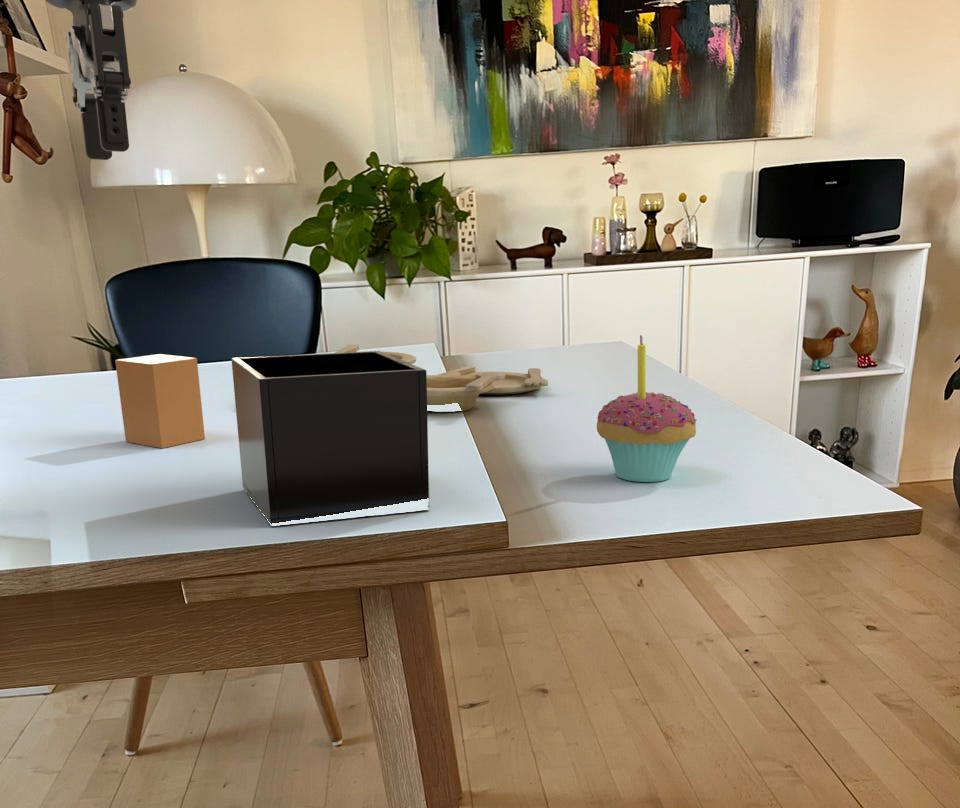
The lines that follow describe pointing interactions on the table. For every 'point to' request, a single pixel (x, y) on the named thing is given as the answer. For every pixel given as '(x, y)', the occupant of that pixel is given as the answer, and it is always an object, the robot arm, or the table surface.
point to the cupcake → (645, 430)
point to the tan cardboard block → (160, 400)
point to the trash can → (331, 432)
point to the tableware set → (469, 382)
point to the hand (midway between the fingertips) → (107, 155)
